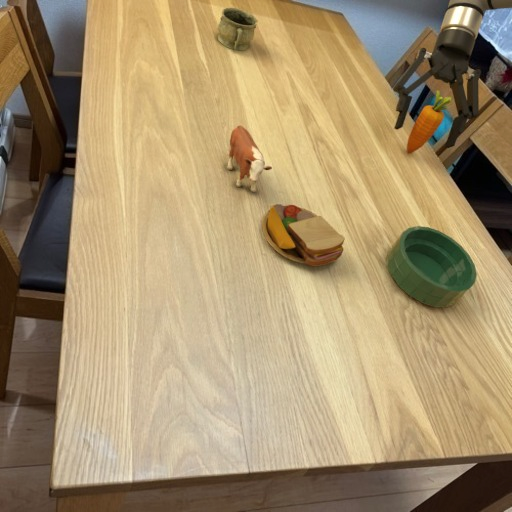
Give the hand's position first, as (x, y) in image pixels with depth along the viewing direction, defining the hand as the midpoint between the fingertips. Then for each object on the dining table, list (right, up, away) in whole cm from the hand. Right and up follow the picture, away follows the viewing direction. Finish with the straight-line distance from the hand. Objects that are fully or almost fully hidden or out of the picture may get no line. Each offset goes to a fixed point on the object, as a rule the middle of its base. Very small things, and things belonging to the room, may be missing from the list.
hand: (423, 137), depth 102 cm
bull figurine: (-38, -12, -16) cm, 43 cm away
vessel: (-41, +27, +17) cm, 52 cm away
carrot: (-1, -2, +6) cm, 7 cm away
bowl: (-7, -28, -19) cm, 35 cm away
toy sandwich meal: (-28, -22, -22) cm, 42 cm away
